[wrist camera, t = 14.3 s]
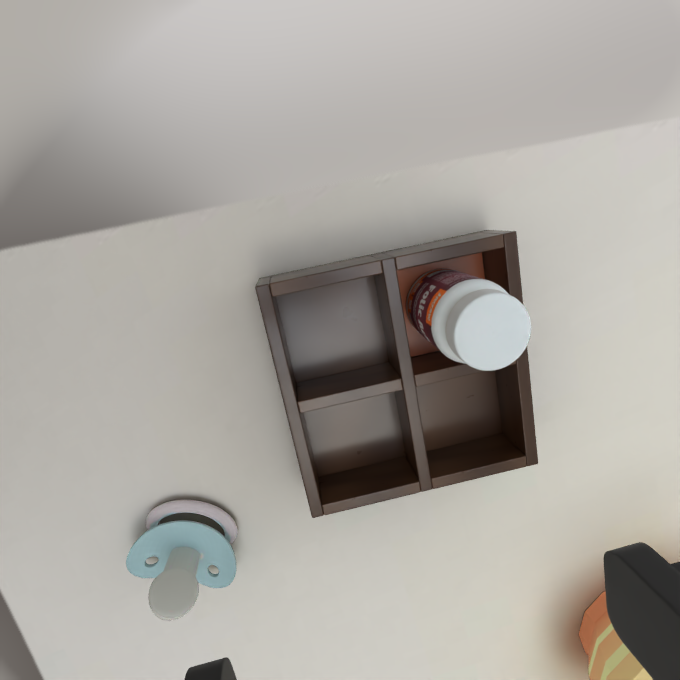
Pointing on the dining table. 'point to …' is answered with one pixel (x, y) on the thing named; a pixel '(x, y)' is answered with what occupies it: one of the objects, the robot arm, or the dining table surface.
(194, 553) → the pacifier
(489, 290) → the pill bottle
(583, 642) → the potted cactus
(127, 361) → the dining table surface
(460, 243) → the grid
